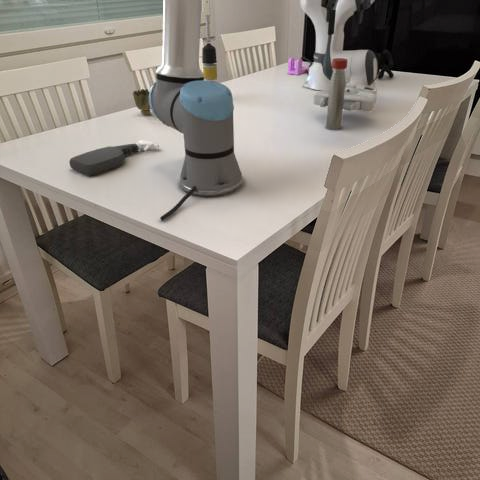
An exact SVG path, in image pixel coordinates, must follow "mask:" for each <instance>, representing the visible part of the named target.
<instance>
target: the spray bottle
mask: <svg viewBox="0 0 480 480" xmlns="http://www.w3.org/2000/svg"><path fill="white" fill-rule="evenodd" d="M159 148H160V145H159V144H158V143H155V142H151V141H148V140H144V139H139V140H138V141H137V142H135V143H129V144H128V143H126V144H122V145H113V146H105V147H100V148H97V149H94V150H90V151H87V152H83V153H81V154H78V155H74V156H73V157H70V159H69V161H68V162H69V167H70V168H71V169H72V170H74V171H75V172H78V173H81V174H83V175H85V176H89V177H90V176H91V177H92V176H95V175H99V174H102V173H105V172H107V171H110V170H113V169H116V168H118V167H120V166H122V165H123V164H124V163H125V158H126V156H127V155H131V154H133V153H138V151H140V150H143V151H144V152H146V151H147V150H149V149H159Z"/></svg>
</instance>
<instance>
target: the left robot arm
mask: <svg viewBox="0 0 480 480" xmlns="http://www.w3.org/2000/svg"><path fill="white" fill-rule="evenodd" d="M202 2H203V1H202V0H163V5H162V6H163V12H162V15H163V17H162V63H161V65H160V66H159V67H158V68H157V69H156V71H155V81H154V83H153V84H152V85H151V87H150V89H149V91H150V92H149V105H150V108H151V109H150V110H151V112H152V114H153V115H154V117H156V119H158V121H160V122H161V123H162V124H163V125H165V126H167V127H169V128H171V129H174V130H175V131H177V132H179V133H181V134H183V143H184V154H185V155H184V158H183V164H182V168H181V171H180V177H179V178H180V179H179V183H180V184H179V185H180V188H181V189H182V191H184V192H186V194H184V196H183V197H182V198H181V199H180V200H179V201H178V202H177V203H176V205H174V206H173V208H171V209H170V210H168V211H167V212H166V213H164V214H163V215H161V216H160V220H161V221H165V219H167V218H169V217H170V216H171V215H173V214H174V213H175V212H176V211H178V209H180V207H181V206H182V205H184V203H185V202H186V201H187V200H188V199H189V197H190V196H191V195H194V196H199V197H221V196H224V195H229V194H232V193H234V192H235V191H237V190H239V189H240V188H241V187H242V185H243V174H242V171H241V168H240V165H239V163H238V160H237V157H236V154H235V132H234V131H235V130H234V127H235V126H234V110H235V106H234V100H233V98H234V97H233V94H232V91H231V89H230V88H229V87H227V85H225V84H223V83H221V82H218V81H215V82H210V81H208V80H204V74H203V70H201V69H200V66H199V64H200V63H199V62H200V43H201V23H202V21H201V19H202V4H203V3H202ZM335 3H336V0H322V1H321V7H324V8H326V10H327V15H326V22H329V24H328V35H332V34H334V27H335V15H336V10H333V9H334V5H335ZM355 3H356V9H357V10H356V11H354V14H353V15H352V23H351V32H350V33H351V34H350V37H351V38H354V37H357V36H358V32H359V25H360V24H362V22H363V16H364V11H365V10H367V9H370V8H371V5H372V4H371V0H355Z"/></svg>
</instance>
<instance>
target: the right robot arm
mask: <svg viewBox="0 0 480 480" xmlns="http://www.w3.org/2000/svg"><path fill="white" fill-rule="evenodd" d="M321 1H322V0H299V4H300V5H299V6H300V8H301V10H302V12H303V13H304V14H306V15H307V17H309V18H310V20H311V22H312V24H313V26H314V30H315V51H314V53H313V62H312V61H311V60H310V59H308V58H307V57H306V56H301V57H300V59H302V60H303V59H304V60H306V61H307V62H308V63H310V64H309V65H308V67H309V71H308V70H306V72H305V73H306V74H308V77H307V79H306V82H304V84H303V87H304V88H307V89H311V90H316V92H315V93H314V94H313V104H314V105H318V106H319V107H320V108H325V107H328V99H329V87H330V80H331V77H332V74H333V71H334V69H333V68H332V60H333V59H336V58H343V59H347V68H346V69H344V72H345V81H349V82H345V94H344V104H343V111H344V110H345V111H349V112H353V111H361V112H366V113H367V112H368V113H370V112H373V111H374V110H375V107H376V102H377V94H378V93H377V89H376V80H377V78H378V75H377V74H378V60H377V58H376V56H375V54H374V53H373V52H372V51H373V50H371V49H356V50H344V40H345V32H344V28H345V24H346V22H347V21H348V20H349V18H350V17H353V14H354V11H356V10H357V9H356V3H355V0H336V3H335V5H334V9H333V10H336V15H335V27H334V34H332V35H328V24H329V22H326V15H327V10H326V8H324V7H321ZM375 1H376V0H371V5H372V4H373V3H374V2H375Z"/></svg>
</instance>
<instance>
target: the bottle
mask: <svg viewBox="0 0 480 480" xmlns="http://www.w3.org/2000/svg"><path fill="white" fill-rule="evenodd" d="M345 83H347V80H345V72H344V69H334V71H333V74H332V77H331V80H330V87H329V99H328V106H327V109H326V110H327V112H326V122H325V128H326V129H327V130H331V131H332V130H333V131H337V130H341V129H342V122H343V114H344V113H343V111H344V109H343V104H344V94H345Z"/></svg>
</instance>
